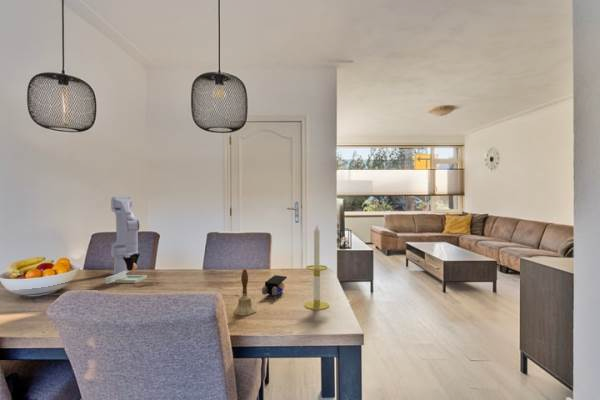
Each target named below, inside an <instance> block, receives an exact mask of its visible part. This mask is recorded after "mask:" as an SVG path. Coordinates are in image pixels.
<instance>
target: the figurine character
mask: <svg viewBox="0 0 600 400" xmlns="http://www.w3.org/2000/svg"><path fill="white" fill-rule="evenodd" d="M286 279H287V276H284V275H272V276H271V277H270V278H269V279H268V280H266V281H265V282H264V286H262V289H261V295H263V296H264V295H267V296H266V299H270V297H272V300H274V299H276V297H277V296H278V295H279V294H281V293H283V291H284V290H285V284H284V283H283V282H284V281H285V280H286Z"/></svg>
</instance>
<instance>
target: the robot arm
mask: <svg viewBox="0 0 600 400" xmlns="http://www.w3.org/2000/svg"><path fill="white" fill-rule="evenodd" d="M110 199H111V200H110V205H111V206H110V207H111V208H110V209H111V212H113V213H114V214H115V225H116V226H115V228H116V231H115V232H116V241H114V242H113V243H112V244H111V248H110V250H111V251H110V254H111V257H112V258H113V259H114V264H113V265H114V269H113V272H111V273H110V275H115V274H118V273H120V272H123V271H126V274H128V273H130V272H129V271H127V270H132V269H133V263H135V264H136V265H137V263H138V261H139V258H140V255H141V254H140V253H139V243H138V242H139V241H138V239H139V238H138V235H139V233H138V231H139V230H140V220H138V219H137V218H136V217H135V214H134V212H133V211H131V208H132V204H133V199H132V197H131V196H112V197H111V198H110ZM126 266H127V269H126Z"/></svg>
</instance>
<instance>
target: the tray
mask: <svg viewBox="0 0 600 400" xmlns="http://www.w3.org/2000/svg"><path fill="white" fill-rule="evenodd" d="M147 278H148V275H146V274H145V275H144V274H142V275H140V274H139V275H137V274H135V275H134V274H132V275H131V274H128V275H127V274H126V276H125V277H122V278H119V279H117V280H116V281H115V283H118V284H122V283H124V284H137V283H139V282H142V281H144V280H146V279H147Z"/></svg>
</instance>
